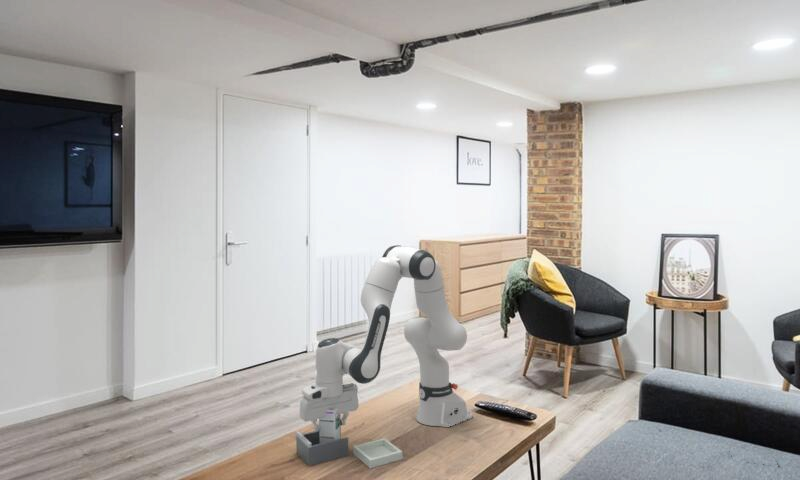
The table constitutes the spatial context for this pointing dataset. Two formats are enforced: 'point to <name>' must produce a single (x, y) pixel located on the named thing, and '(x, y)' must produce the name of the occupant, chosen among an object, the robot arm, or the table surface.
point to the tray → (377, 453)
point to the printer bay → (319, 448)
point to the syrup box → (330, 426)
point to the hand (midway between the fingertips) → (330, 427)
